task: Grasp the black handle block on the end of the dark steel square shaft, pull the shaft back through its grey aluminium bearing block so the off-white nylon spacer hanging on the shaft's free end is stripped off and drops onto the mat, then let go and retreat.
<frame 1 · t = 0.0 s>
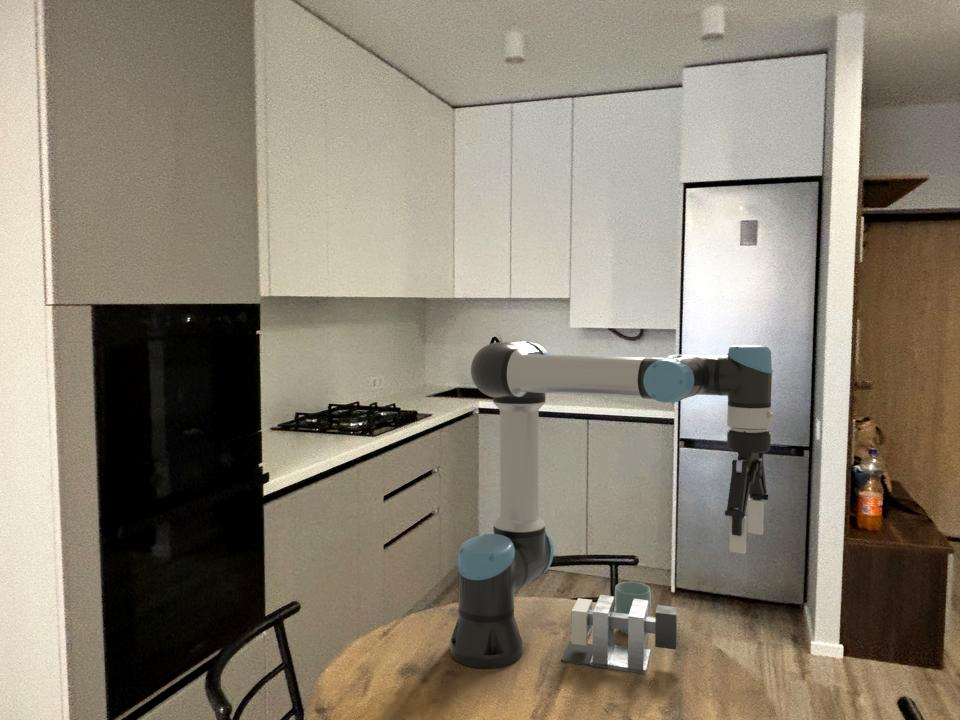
hand: (746, 542, 136), 28 cm above the table, fingers open, 13 cm apart
spacer: (582, 621, 152), point 7 cm above the table, touching shaft
mat: (579, 653, 152), on the table
cup: (632, 632, 163), on the table
bearing block: (620, 659, 150), on the table
shaft: (623, 621, 149), point 8 cm above the table, slide at 0.0 cm, touching spacer
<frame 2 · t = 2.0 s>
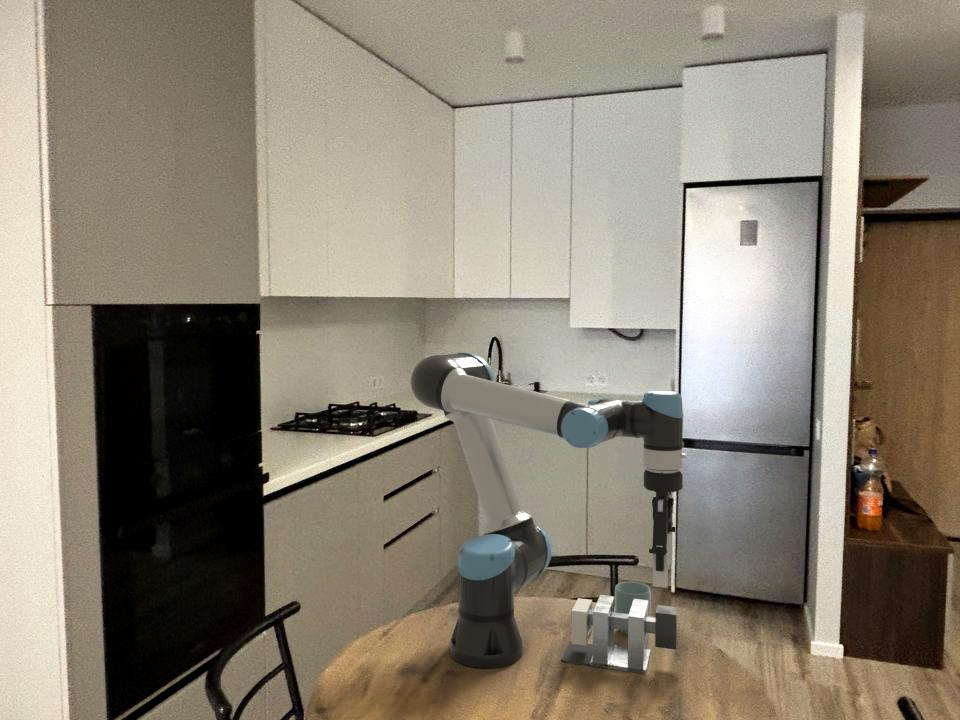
hand: (662, 574, 146), 19 cm above the table, fingers open, 13 cm apart
nothing on the table moved.
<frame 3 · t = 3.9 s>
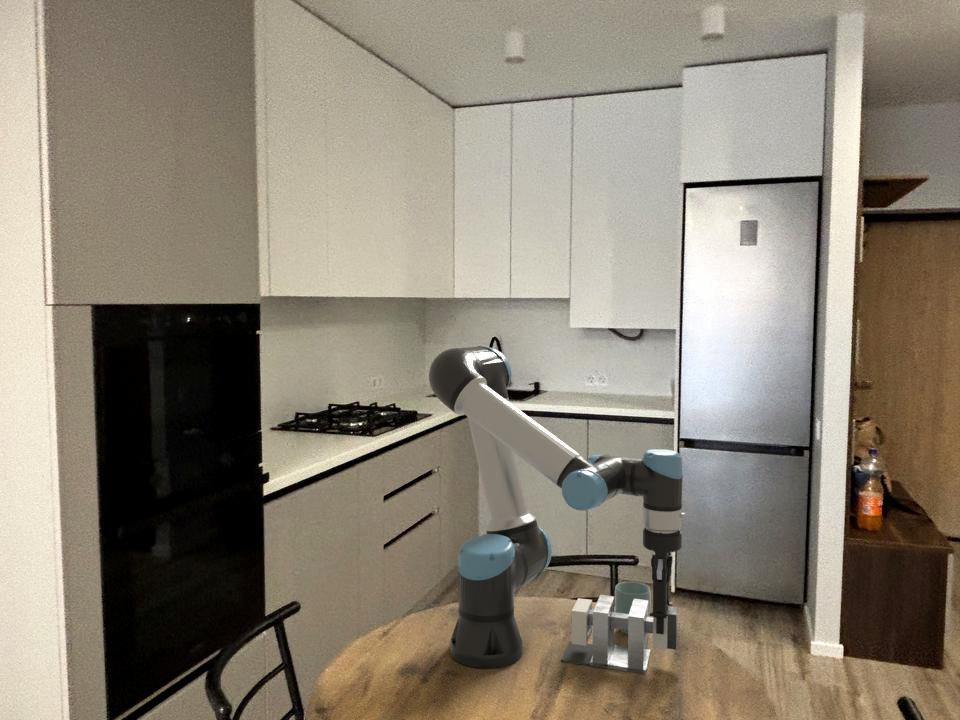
hand: (661, 642, 147), 5 cm above the table, fingers closed on shaft, 4 cm apart
shaft: (623, 621, 149), point 8 cm above the table, slide at 0.0 cm, touching gripper, spacer
everything else where it was.
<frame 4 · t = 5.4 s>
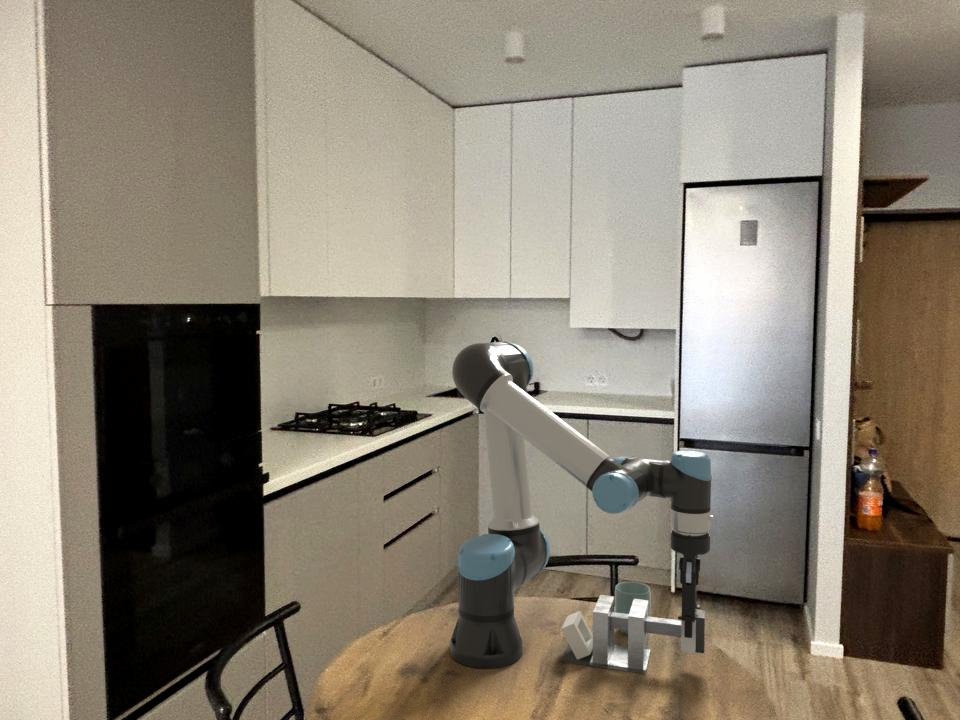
hand: (688, 646, 145), 5 cm above the table, fingers closed on shaft, 4 cm apart
spacer: (578, 634, 152), point 4 cm above the table, tilted 29°, touching mat
shaft: (650, 624, 147), point 8 cm above the table, slide at 5.3 cm, touching gripper
everything else where it was.
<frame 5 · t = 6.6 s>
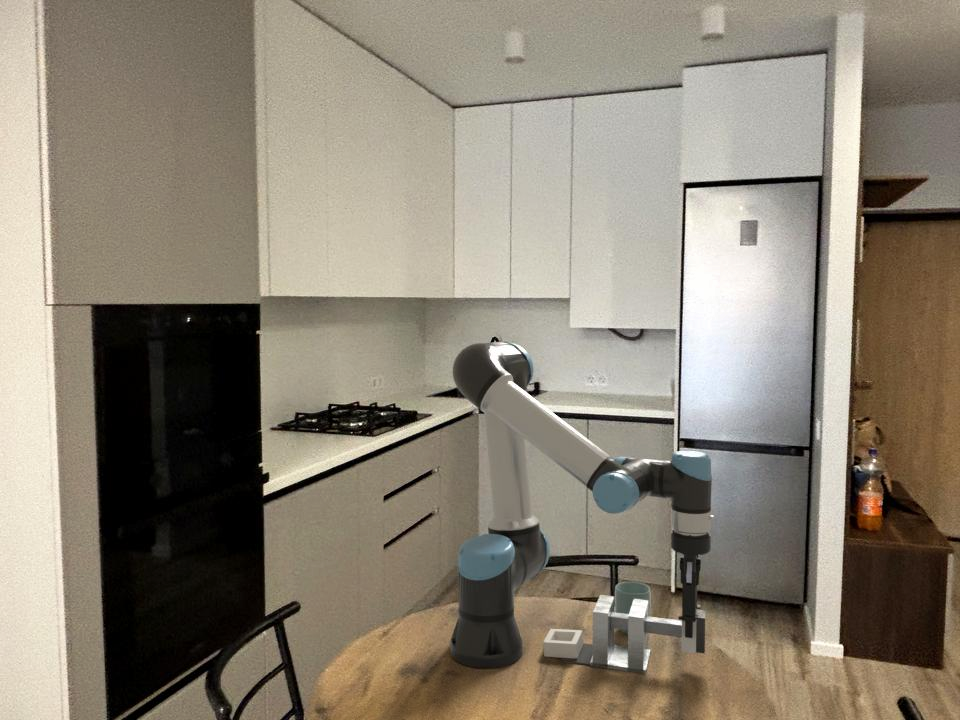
hand: (689, 646, 145), 5 cm above the table, fingers closed on shaft, 4 cm apart
spacer: (563, 643, 153), point 2 cm above the table, tilted 95°, touching mat
shaft: (650, 624, 147), point 8 cm above the table, slide at 5.4 cm, touching gripper
everything else where it was.
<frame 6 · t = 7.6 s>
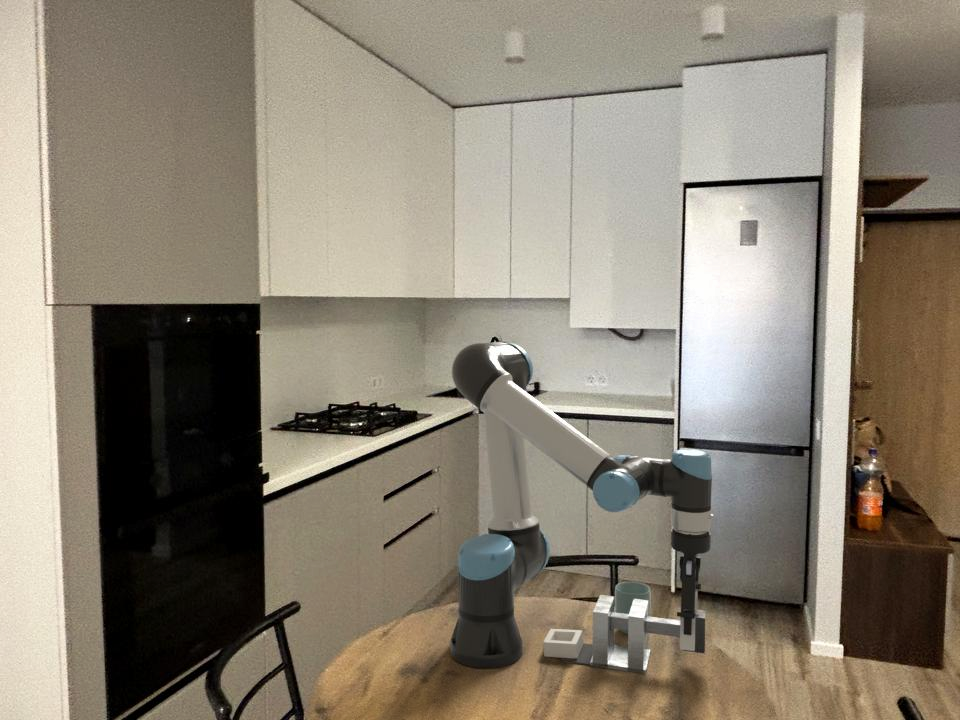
hand: (688, 634, 145), 7 cm above the table, fingers open, 13 cm apart
shaft: (650, 624, 147), point 8 cm above the table, slide at 5.4 cm
everything else where it was.
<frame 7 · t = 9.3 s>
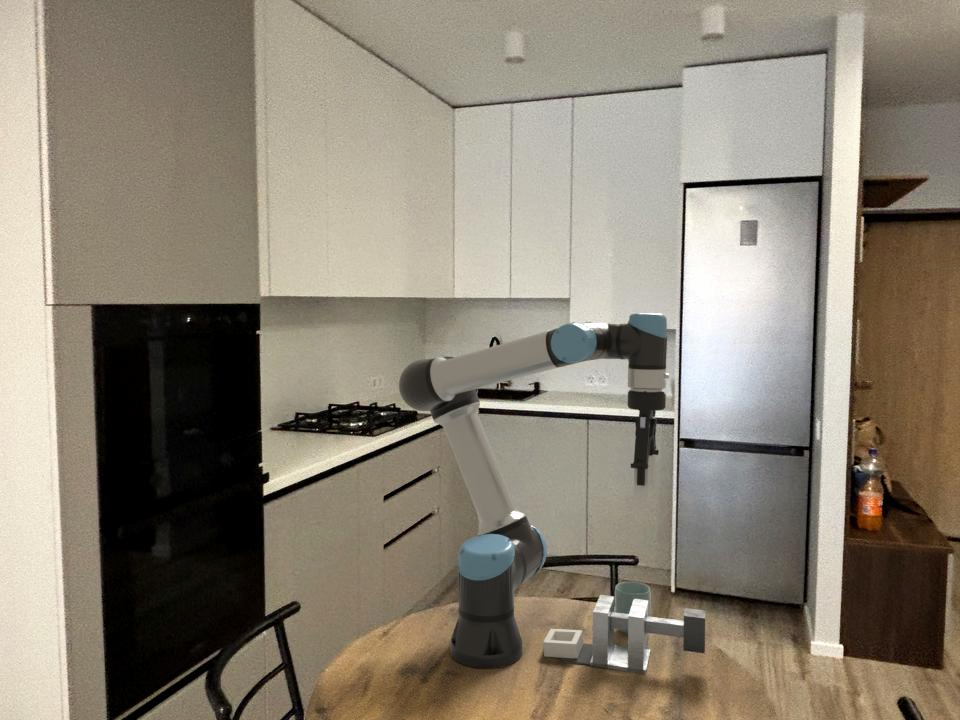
hand: (644, 493, 149), 34 cm above the table, fingers open, 13 cm apart
nothing on the table moved.
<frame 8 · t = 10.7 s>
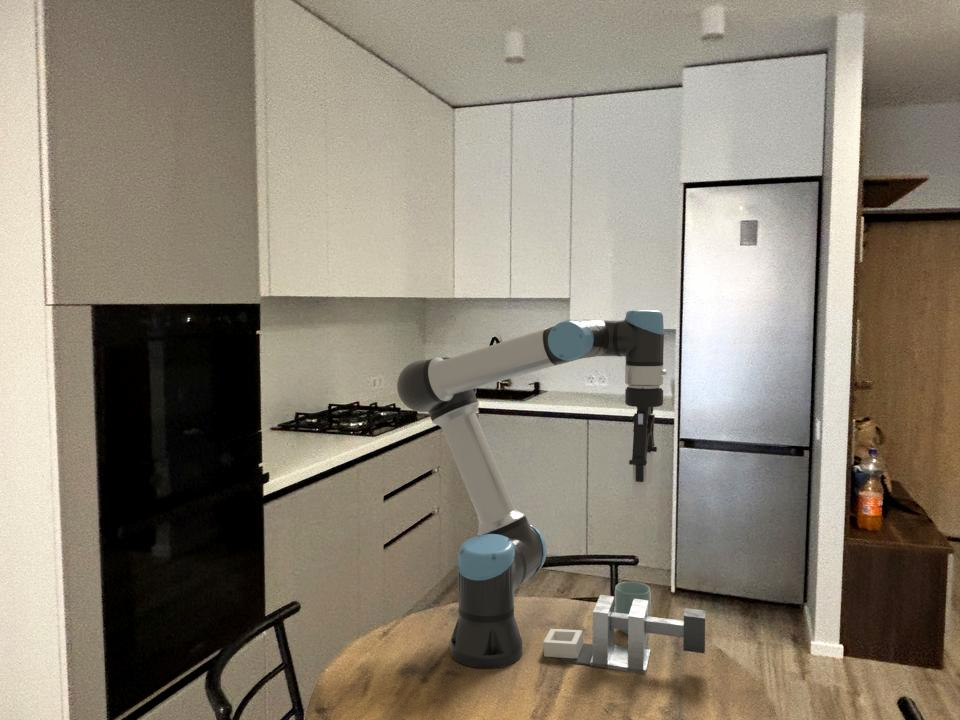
hand: (643, 490, 149), 35 cm above the table, fingers open, 13 cm apart
nothing on the table moved.
at the end: spacer point 1.8 cm above the table; spacer touching mat, table; shaft slide at 5.4 cm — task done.
